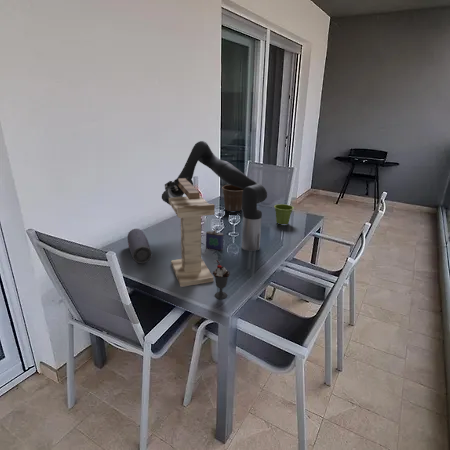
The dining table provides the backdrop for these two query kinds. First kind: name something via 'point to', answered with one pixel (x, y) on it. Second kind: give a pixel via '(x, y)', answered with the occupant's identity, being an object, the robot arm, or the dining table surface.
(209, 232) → the flask
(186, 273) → the birch stand
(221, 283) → the sundae
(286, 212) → the plant pot
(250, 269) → the dining table surface
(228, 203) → the plant pot
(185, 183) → the walnut plank
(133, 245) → the bluetooth speaker
